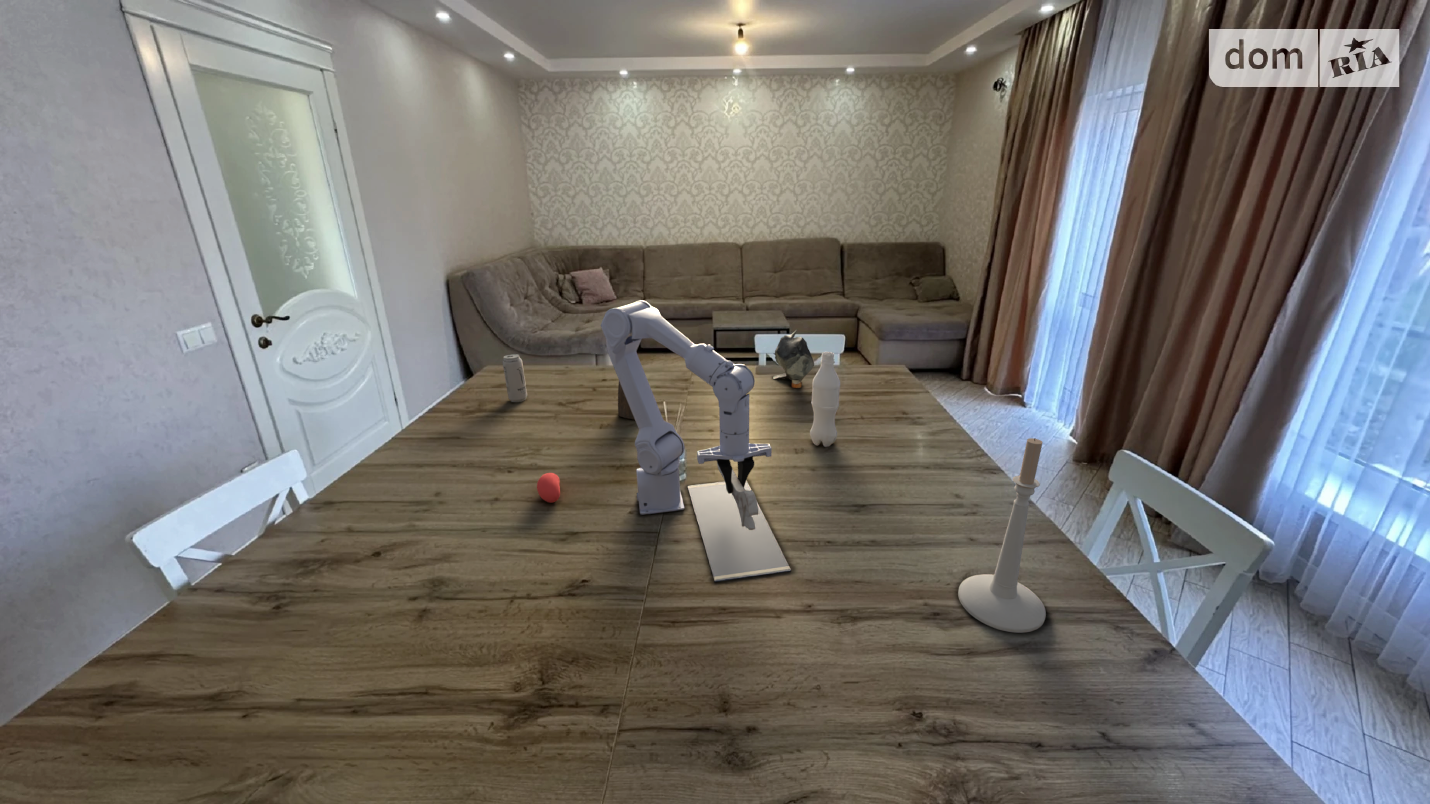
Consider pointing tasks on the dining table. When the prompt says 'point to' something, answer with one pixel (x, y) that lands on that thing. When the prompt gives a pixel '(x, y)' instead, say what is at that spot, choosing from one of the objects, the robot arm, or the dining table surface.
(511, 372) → the energy drink can
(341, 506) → the dining table surface
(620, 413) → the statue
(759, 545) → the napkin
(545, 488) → the stress ball
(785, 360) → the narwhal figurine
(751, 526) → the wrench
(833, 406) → the water bottle
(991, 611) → the candlestick
